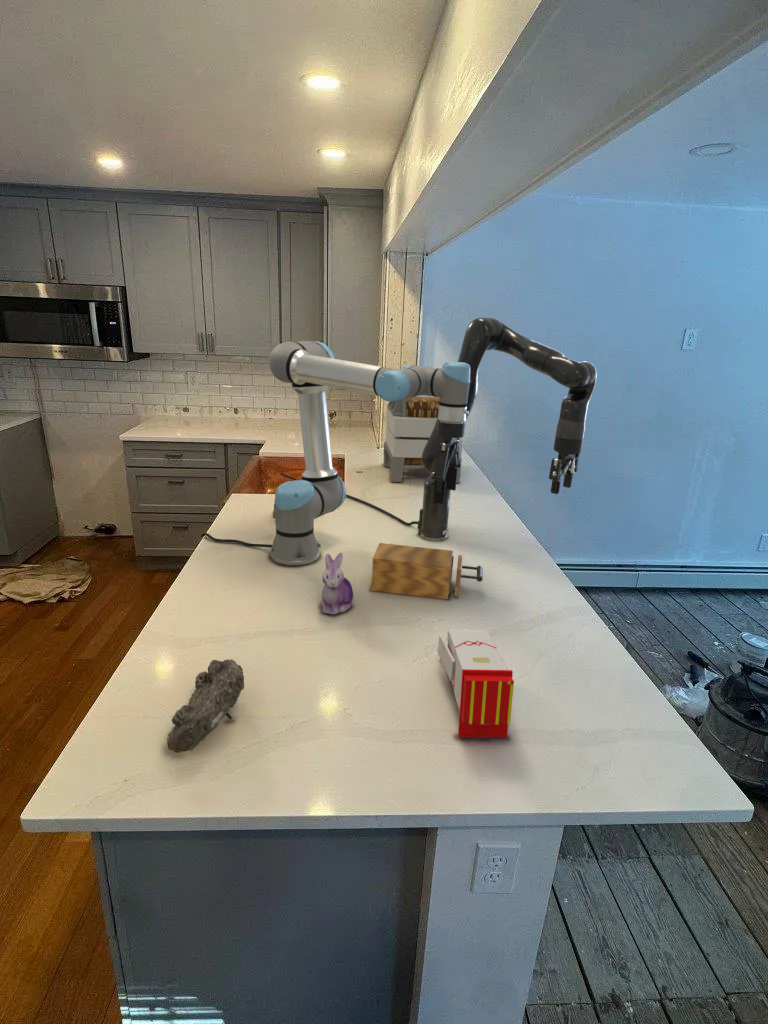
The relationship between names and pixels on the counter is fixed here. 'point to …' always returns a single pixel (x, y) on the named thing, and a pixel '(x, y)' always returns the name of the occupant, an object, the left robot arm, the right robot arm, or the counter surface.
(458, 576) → the drawer
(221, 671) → the fossil
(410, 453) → the transformer
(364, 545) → the counter surface
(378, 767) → the counter surface
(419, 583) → the cabinet
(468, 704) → the toy
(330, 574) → the figurine
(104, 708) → the counter surface
